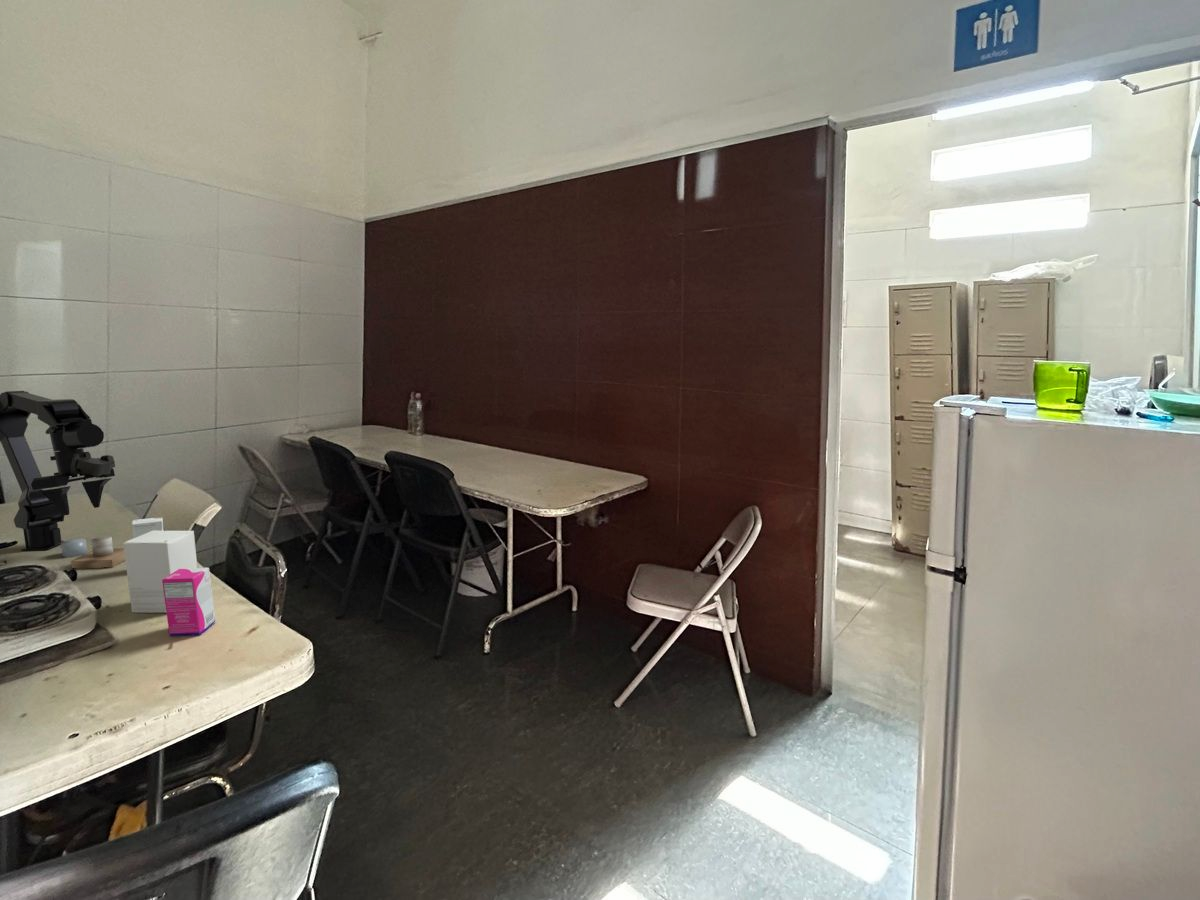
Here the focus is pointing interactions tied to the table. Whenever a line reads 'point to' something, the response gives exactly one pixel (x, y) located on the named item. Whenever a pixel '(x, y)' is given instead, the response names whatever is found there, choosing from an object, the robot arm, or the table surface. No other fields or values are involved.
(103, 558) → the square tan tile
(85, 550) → the smooth rounded gray lump
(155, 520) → the skincare box
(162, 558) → the supplement box
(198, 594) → the supplement box
